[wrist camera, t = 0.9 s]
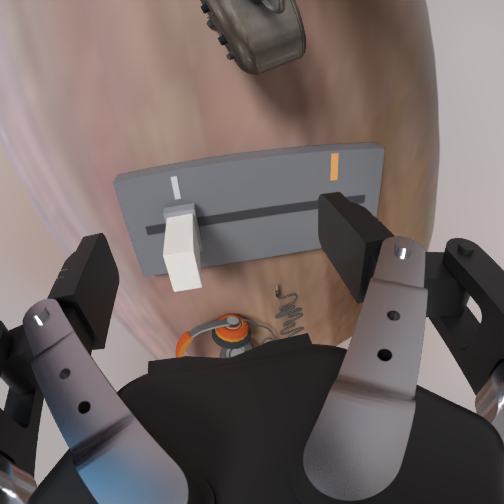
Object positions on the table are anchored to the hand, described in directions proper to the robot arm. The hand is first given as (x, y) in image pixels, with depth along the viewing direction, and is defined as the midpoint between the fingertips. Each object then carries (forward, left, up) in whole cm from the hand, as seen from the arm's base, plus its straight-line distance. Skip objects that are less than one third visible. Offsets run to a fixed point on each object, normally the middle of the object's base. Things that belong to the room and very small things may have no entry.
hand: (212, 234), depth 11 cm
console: (+10, +5, -21) cm, 24 cm away
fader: (+10, -3, -18) cm, 21 cm away
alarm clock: (-10, +4, -21) cm, 23 cm away
